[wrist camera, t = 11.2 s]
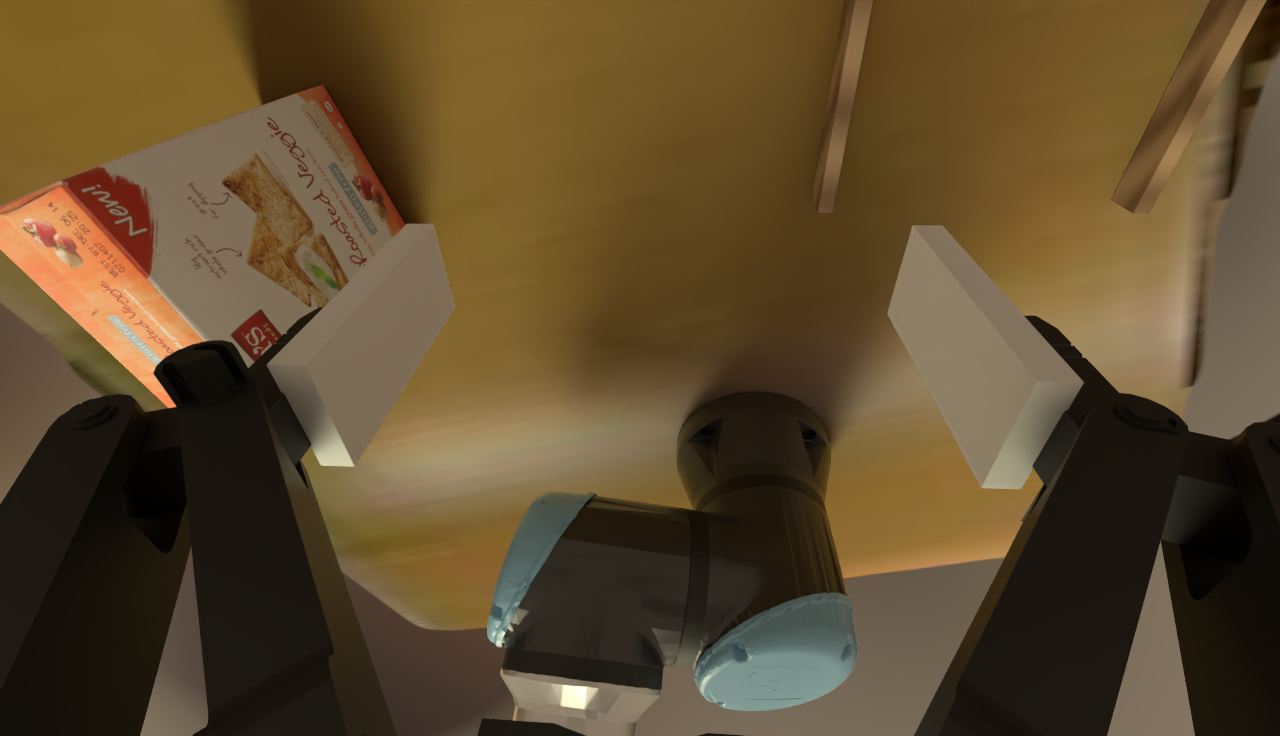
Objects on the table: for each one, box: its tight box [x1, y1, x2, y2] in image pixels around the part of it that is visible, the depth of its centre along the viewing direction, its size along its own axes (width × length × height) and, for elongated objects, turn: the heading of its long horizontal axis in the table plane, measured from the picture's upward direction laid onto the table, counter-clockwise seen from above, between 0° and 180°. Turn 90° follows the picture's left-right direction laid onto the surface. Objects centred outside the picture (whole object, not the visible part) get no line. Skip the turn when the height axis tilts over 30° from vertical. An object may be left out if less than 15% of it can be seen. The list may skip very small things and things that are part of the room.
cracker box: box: [0, 85, 405, 408], centre depth 35 cm, size 14×6×21 cm, turn 18°
